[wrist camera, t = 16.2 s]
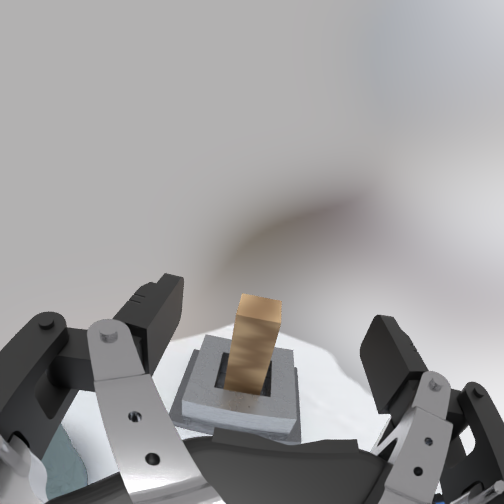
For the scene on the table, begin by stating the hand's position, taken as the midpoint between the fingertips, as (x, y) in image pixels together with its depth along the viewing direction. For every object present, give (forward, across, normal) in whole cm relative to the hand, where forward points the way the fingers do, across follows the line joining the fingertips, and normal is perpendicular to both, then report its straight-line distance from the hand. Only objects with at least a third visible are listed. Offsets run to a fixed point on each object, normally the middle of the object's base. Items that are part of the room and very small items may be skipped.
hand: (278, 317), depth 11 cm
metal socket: (+15, -1, +24) cm, 28 cm away
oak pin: (+15, -1, +23) cm, 28 cm away
